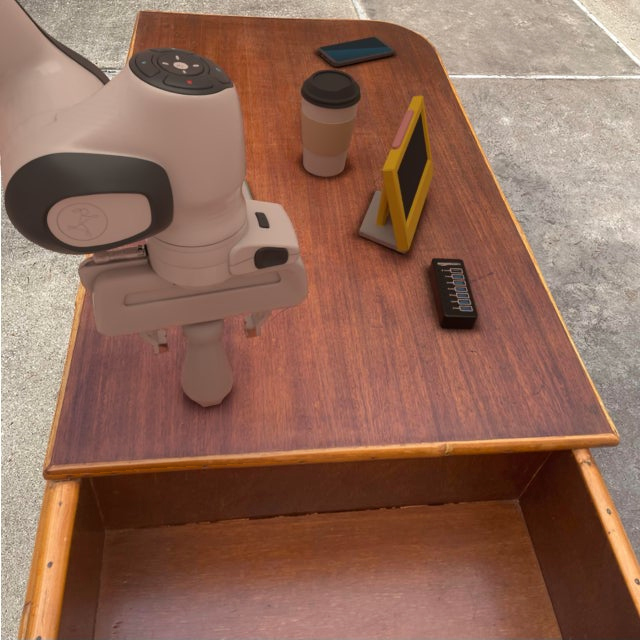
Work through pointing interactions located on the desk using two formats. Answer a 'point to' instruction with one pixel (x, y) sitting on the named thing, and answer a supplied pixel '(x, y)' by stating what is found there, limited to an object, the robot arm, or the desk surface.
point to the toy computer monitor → (402, 183)
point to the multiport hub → (452, 294)
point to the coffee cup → (328, 120)
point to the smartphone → (355, 51)
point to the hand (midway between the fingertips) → (207, 340)
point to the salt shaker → (206, 363)
